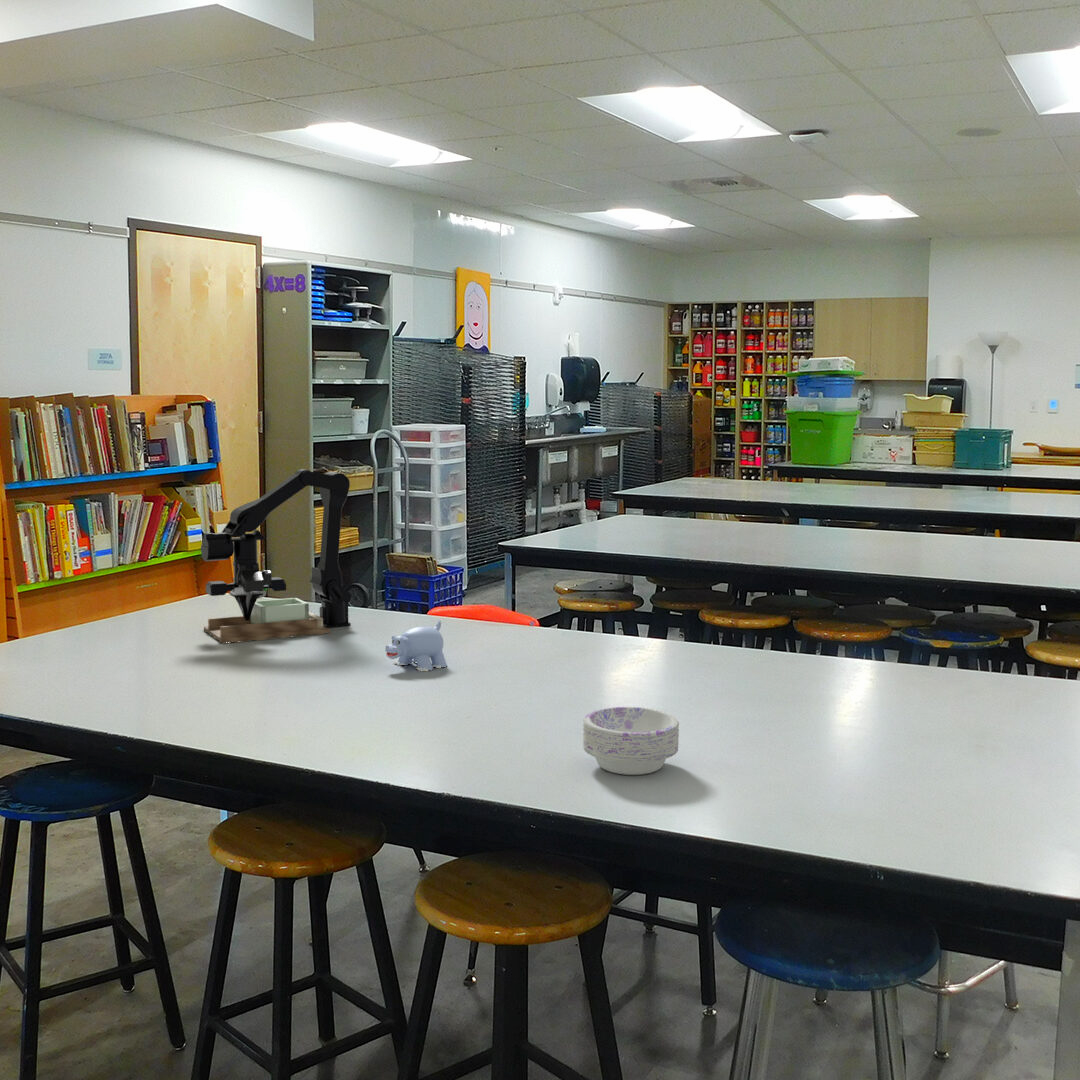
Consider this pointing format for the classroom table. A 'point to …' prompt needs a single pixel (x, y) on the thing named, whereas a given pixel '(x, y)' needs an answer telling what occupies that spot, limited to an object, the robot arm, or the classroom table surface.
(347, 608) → the robot arm
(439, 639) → the hippopotamus toy
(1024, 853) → the classroom table surface
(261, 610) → the sage green bevelled box
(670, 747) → the paper bowls
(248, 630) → the wooden serving tray
